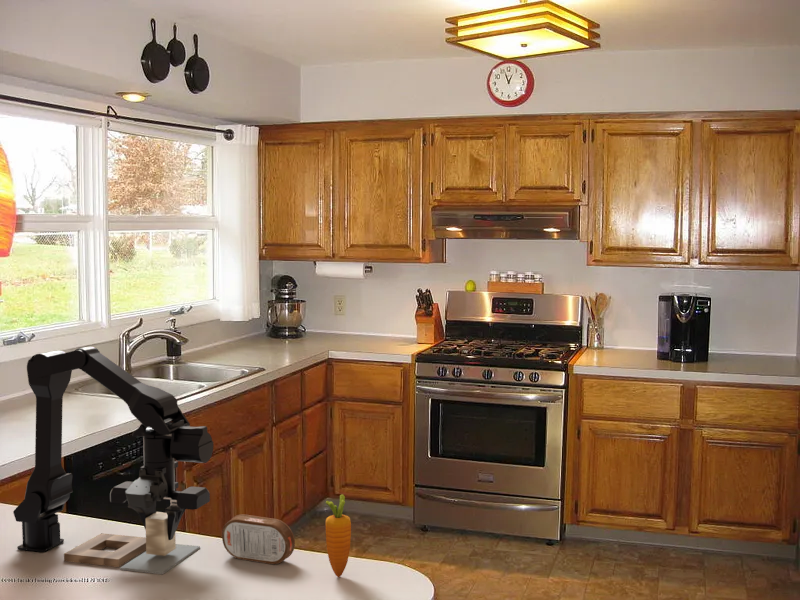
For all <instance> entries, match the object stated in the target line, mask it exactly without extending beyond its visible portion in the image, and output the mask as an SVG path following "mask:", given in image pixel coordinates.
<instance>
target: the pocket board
mask: <svg viewBox="0 0 800 600" xmlns="http://www.w3.org/2000/svg"><path fill="white" fill-rule="evenodd" d="M105 548H111V549H116V550H114V551H108V550H103V549H105ZM144 552H146V536H144V537H143V536H133V535H123V534H112V533H103V532H102V533H100V534H97V535H95V536H94V537H92V538H90V539H88V540H86V541H85V542H82V543H81V544H78V545H77V546H75V547H74V548H72V549H69V550H67V551H66V552H65V553H64V554H63V562H69V563H77V564H86V565H95V566H105V567H115V568H120V567H122V566H123V565H125V564H127V563H128V562H130V561H131V560H133V559H134V558H136V557H138V556H139V555H141V554H142V553H144Z"/></svg>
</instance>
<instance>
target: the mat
mask: <svg viewBox="0 0 800 600" xmlns="http://www.w3.org/2000/svg"><path fill="white" fill-rule="evenodd" d="M199 549H201V546H199V545H189V544H180V543H176V549H174V550H173V551H171V552H170V553H168V554H167V555H165V556H162V555H153V554H146V551H144V552H142V553H140V554H139V555H137V556H136V557H134V558H132V559H131V560H129V561H128V562H126V563H124V564H123V565H121V566H120V567H119V570H121V571H130V572H138V573H139V572H140V573H148V574H156V575H164V574H165V573H167V572H168V571H170V570H171V569H172V568H174V567H175V566H177V565H178V564H179V563H182V561H184V560H186V559H187V558H188V557H189V556H191V555H192V554H194V553H195V552H197V551H198V550H199Z"/></svg>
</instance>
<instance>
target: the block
mask: <svg viewBox="0 0 800 600" xmlns="http://www.w3.org/2000/svg"><path fill="white" fill-rule="evenodd" d="M145 538H146V550H145V552H146V554H153V555H162V556H165V555H167V554H168V553H170V552H171V551H173V550H174V549H176V544H177V543H176V533H175V534H174V537H173V539H171V540H169V539H168V515H167V513H166V512H162V511H155V513H154V514H152V515H150V516H149V517H147V518H146V530H145Z"/></svg>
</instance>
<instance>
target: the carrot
mask: <svg viewBox="0 0 800 600" xmlns="http://www.w3.org/2000/svg"><path fill="white" fill-rule="evenodd" d="M345 496H346V495H344V494H340V495H339V504H338V506H337V505H336V504H334V502H333V501H329V500H326V501H325V504H326V505H328V507H329V508H330V510H331V511H332V515H329V516H328V517H326V518H325V539H326V540H325V544H326V552H327V556H328V561H329V563H330V567H331V569H332V570H333V573H334V575H335V576H336V577H337V578H340V577H341V576H342V575H343V574H344V571H345V569H346V567H347V565H348V562H349V561H348V560H349V557H350V550H351V539H352V538H351V537H352V522H351V517H350V516H348V515H345V514H343V512H344V508H345V507H344V506H345V504H346V501H345V499H346V497H345Z"/></svg>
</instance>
